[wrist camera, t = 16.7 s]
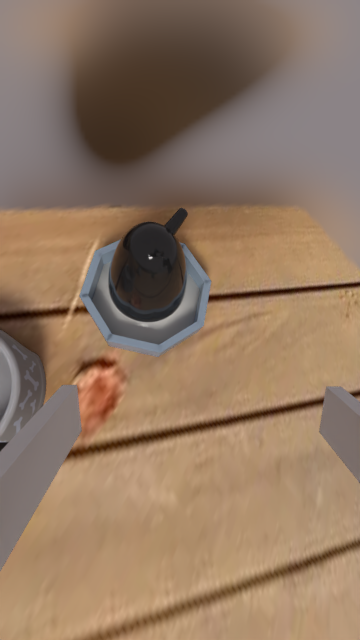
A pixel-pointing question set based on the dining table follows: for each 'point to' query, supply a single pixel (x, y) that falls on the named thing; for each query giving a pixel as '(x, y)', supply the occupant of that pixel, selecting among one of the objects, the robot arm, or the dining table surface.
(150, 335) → the bowl
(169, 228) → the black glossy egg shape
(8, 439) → the dog bowl
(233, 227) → the dining table surface
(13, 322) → the dining table surface
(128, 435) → the dining table surface
